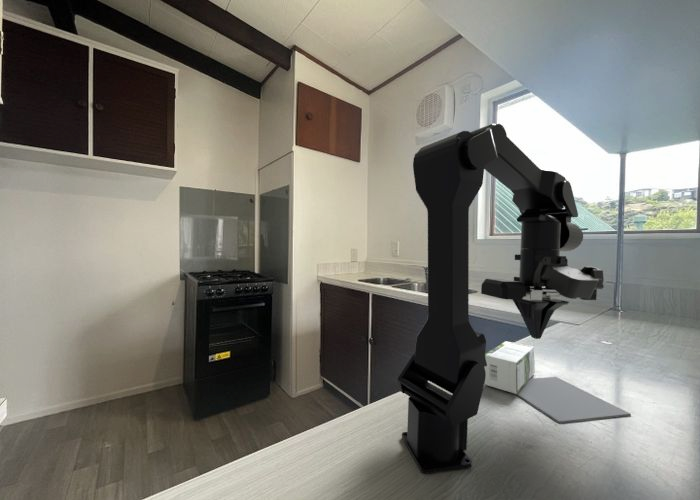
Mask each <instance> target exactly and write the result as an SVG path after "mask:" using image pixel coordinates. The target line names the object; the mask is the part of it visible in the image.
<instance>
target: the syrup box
mask: <svg viewBox="0 0 700 500" xmlns="http://www.w3.org/2000/svg"><path fill="white" fill-rule="evenodd" d="M485 358H486V363H487V366H486V367H485V366H484V368H485V372H486V377H485V383H484V386H489V387H492V388H496V389H498V390H501V391H505V392H509V393H512V394H514V393H515V394H514V395H516V394H517V393H518V392H519V391H520V390H521V389H522V388H523V386H524V385H525V384H526V383H527V382H528V380H529V379H531V378H533V375H535V373H536V369H535V367H536V366H535V365H536V361H535V359H536V358H535V347H534V345H529V344H528V345H527V344H524V343H518V342H513V341H512V342H511V341H506V340H505V341H504V342H502V343H501V344H499V345H498V346H495V347H494V348H493V349H491V350H489V351H487V352H485Z"/></svg>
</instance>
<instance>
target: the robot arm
mask: <svg viewBox="0 0 700 500" xmlns="http://www.w3.org/2000/svg"><path fill="white" fill-rule="evenodd" d="M412 162H413V163H412V170H413V177H414V185H415V191H416V193H417V195H418V196H419V198H420V200H421V201H422V203H423V205H424V206H425V208H426V212H427V319H426V321H425V322H424V324H423V326H422V328H421V329H420V330H419V332H418V334H417V336H416V339H415V340H416V341H415V350H414V353H413V354H412V356H411V357H410V359H409V360H408V362H407V363H406V365H405V366H404V368H403V369H402V371H401V373H400V374H399V376H398V377H397V383H398V389H399V391H400V392H401V393H402V394H405V396H408V398H407V399H408V400H407V401H408V403H407V404H408V405H407V427H406V430H407V431H403V432H402V433H401V438H402V440H403V442H404V443H405V446H406V447H407V449H408V451H409V453H410V455H412V458H413V459H414V461H415V463H416V465H417V467H418V468H419V471H420V472H422V473H423V474H431V473H438V472H444V471H452V470H460V469H467V468H468V469H469V468H471V467H472V465H473V461H472V459H471V458H470V456H469V455H468V454H467V453H466V452H465V451H467V447H468V444H467V443H468V426H469V425H468V424H469V422H468V421H469V419H471V418H473V417H474V416H475V417H476V416H477V415H478V411H479V407H480V403H481V399H482V396H483V395H482V394H483V391H484V387H485V384H484V383H485V377H486V372H485V368H484V366H485V367H486V366H487V363H486V358H485V354H486V350H487V349H486V348H487V340H486V337H485V334H484V333H482V332H479V331H475V330H474V328H473V326H472V325H471V323H470V320H469V311H470V310H469V306H470V305H469V304H470V303H469V301H470V300H469V298H470V297H469V296H470V295H469V288H470V287H469V282H470V281H469V280H470V279H469V273H470V271H469V269H470V268H469V266H470V265H469V257H470V255H469V248H470V246H469V242H470V241H469V239H470V238H469V231H470V230H469V227H470V226H469V225H470V224H469V221H470V220H469V219H470V218H469V211H470V207H471V205H472V204H473V202H474V200H475V198H476V196H477V195H478V193H479V191H480V189H482V186H483V183H484V182H483V181H484V174H485V171H486V172H488V174H490V175H491V176H492V177H494V178H495V179H496V180H498V182H500V183H501V184H502V185H503V186H505V187H506V188H507V189H508V190H509V191H511V193H512V200H511V201H512V203H513V204H514V205H515V206H516V208H517V209H518V211H519V213H520V214H519V215H518V217H517V218H516V221H517V223H521V226H520V227H521V230H520V254H514V260H515V261H519V274H518V275H519V276H513V280H511V279H506V278H505V279H504V278H485V279H484V280H483V281H482V283H481V285H480V286H481V290H480V291H481V292H480V294H482V295H484V296H489V297H493V298H498V299H501V300H502V299H503V300H512V301H513V302H514V305H515V307H516V309H517V310H518V311H519V314H520V315H521V317H522V320H523V321H524V324H525V326H526V328H527V330H528V332H529V334H530V337H531V338H533V339H534V340H535V339H536V340H540V339H541V338H542V336H543V335H544V332H545V330H546V328H547V326H548V323H549V321H550V319H551V317H552V315H553V314H554V312H555V311H556V310H558V309H559V308H561V307H564V306H565V305H568V304H569V303H570V302H569V301H567V300H563V299H562V297H564V298H567V299H571V300H576V299H580V300H584V301H597V296H598V295H597V293H598V292H597V290H603V289H604V287H605V286H604V282H605V281H604V280H605V279H604V270H603V269H601V268H598V267H596V266H587V265H586V266H584V267H582V268H581V269H580V268H573V267H570V266H569V265H568V258H567V256H566V255H565V256H564V255H560V254H561V253H560V252H570V251H574V250H575V249H577V248H579V246H580V245H581V243H582V242H583V239H584V234H583V231H582V229H581V228H580V226H578V225H577V224H575V223H573V222H572V218H578V216H579V211H578V209H577V204H576V200H575V197H574V196H575V195H574V191H573V188H572V184H571V183H570V181H569V180H567V179H566V177H565V176H563V175H562V174H561V173H559V172H557V171H556V170H550V169H544V168H540V167H538V165H537V164H536V163H534V162H533V160H532V159H531V158H529V157H528V155H526V153H524V152H523V151H522V150H521V149H520V148H519V147H518V145H516V144H515V143H514V142H513V141H512V140H511V139H510V138H509V137H508V136H507V131H506V129H505V127H504V125H502V124H500V123H490V124H488V125H485V126H482V127H480V128H477V129H474V130H472V131H469V130H462V131H460V132H457V133H455V134H452V135H449V136H446V137H444V138H441V139H439V140H437V141H434V142H432V143H429V144H427V145H426V144H425V145H424V146H422V147H420V148H419V149H418V151H417V152H415V154H414V156H413V161H412ZM446 391H447V392H446Z"/></svg>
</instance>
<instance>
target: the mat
mask: <svg viewBox="0 0 700 500" xmlns="http://www.w3.org/2000/svg"><path fill="white" fill-rule="evenodd" d="M513 394H514V395H516V396H517V397H519V398H520V399H522V400H523V401H525V402H526V403H528V404H529V405H531V406H532V407H534V408H536V409H537V410H538V411H539V412H542V413H543V414H544V415H545V416H547V417H549V418H551V419H552V420H554V422H556V423H558V424H565V423H575V422H576V423H577V422H583V421H584V422H585V421H594V420H603V419H610V418H620V417H628V416H629V417H630V416H631V415H632V414H631V412H628V411H626V410H624V409H622V408H621V407H618V406H616V405H614V404H613V403H610V402H608V401H606V400H604V399H602V398H600V397H598V396H596V395H594V394H591V393H589V392H588V391H585V390H584V389H581V388H579V387H578V386H575V385H574V384H572V383H570V382H567V381H566V380H563V379H561V378H559V377H557V376H550V377H534V378H533V377H531V378H530V379H529V380H528V382H527V383H526V384H525V385H524V386H523V388H522V389H521V390H520V391H519V392H518V393H517V394H515V393H513Z"/></svg>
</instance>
